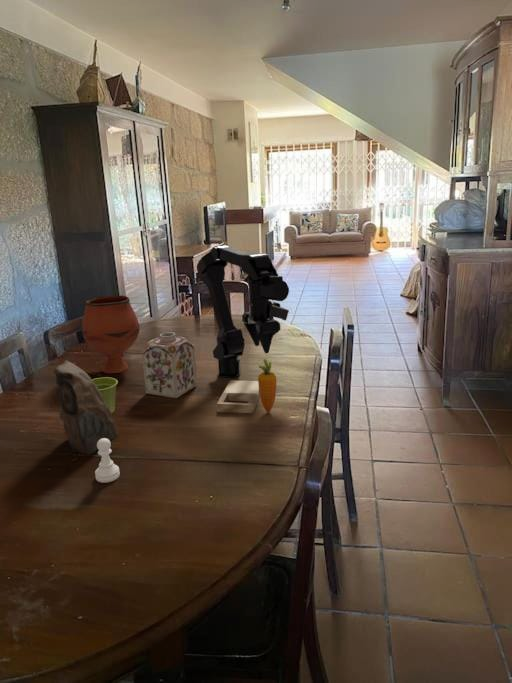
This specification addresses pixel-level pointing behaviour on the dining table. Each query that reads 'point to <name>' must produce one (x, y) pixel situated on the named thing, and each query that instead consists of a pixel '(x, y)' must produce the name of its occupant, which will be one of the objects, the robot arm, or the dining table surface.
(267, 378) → the carrot
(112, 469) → the chess pawn
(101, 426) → the owl
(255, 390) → the open matchbox
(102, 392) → the plant pot
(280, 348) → the dining table surface
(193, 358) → the decorative jar
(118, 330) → the goblet
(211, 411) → the dining table surface
